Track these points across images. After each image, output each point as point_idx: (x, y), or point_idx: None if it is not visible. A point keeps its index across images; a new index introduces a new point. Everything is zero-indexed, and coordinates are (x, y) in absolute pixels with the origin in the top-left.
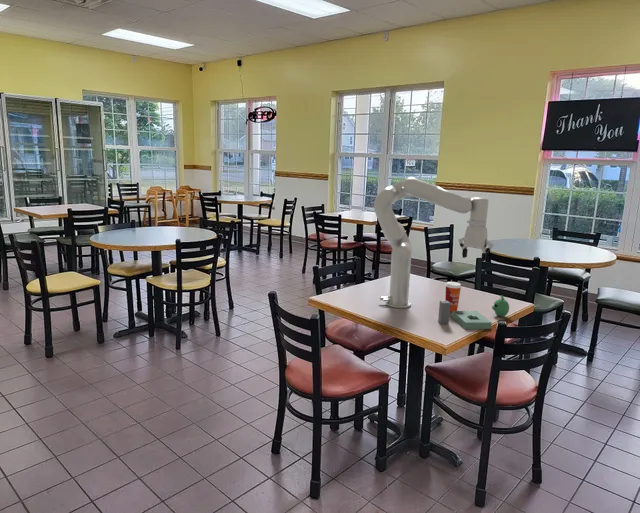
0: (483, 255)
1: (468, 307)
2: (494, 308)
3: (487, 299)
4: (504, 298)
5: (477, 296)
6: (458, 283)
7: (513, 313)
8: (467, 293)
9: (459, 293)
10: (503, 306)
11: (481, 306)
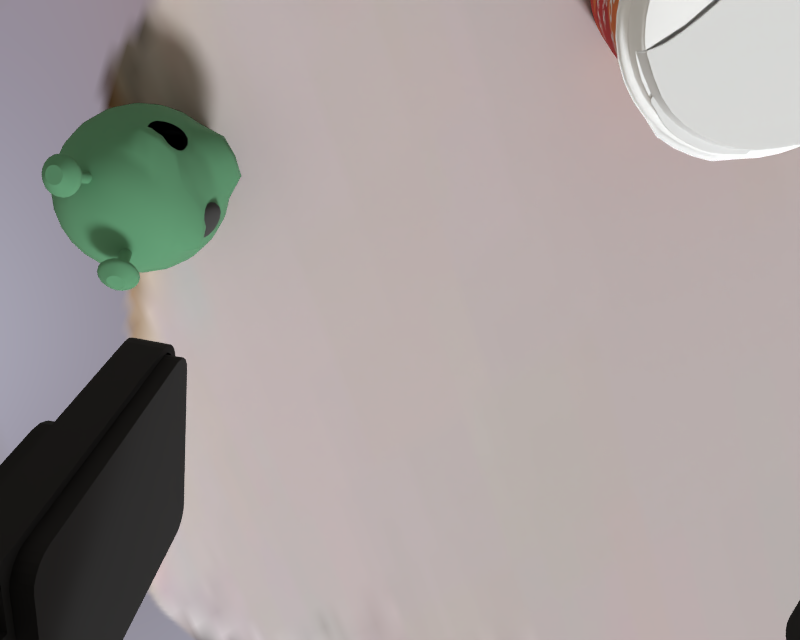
0: (16, 499)
1: (521, 243)
2: (194, 127)
3: (443, 556)
4: (44, 184)
5: (538, 587)
6: (694, 90)
7: (134, 322)
8: (635, 618)
9: (615, 2)
10: (80, 132)
11: (425, 348)
